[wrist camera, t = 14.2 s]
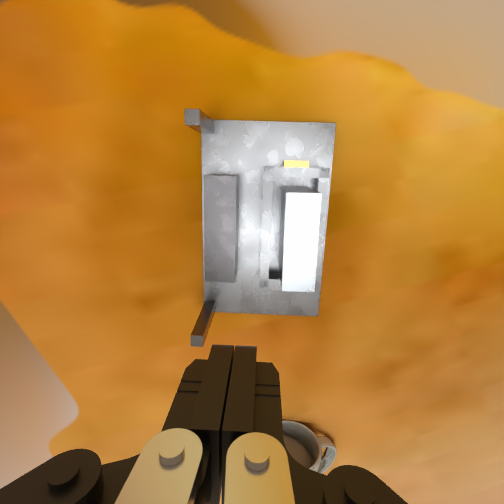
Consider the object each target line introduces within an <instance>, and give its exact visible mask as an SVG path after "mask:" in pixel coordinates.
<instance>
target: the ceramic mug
mask: <svg viewBox="0 0 504 504" xmlns="http://www.w3.org/2000/svg"><path fill="white" fill-rule="evenodd" d="M282 425H283V438H284V443H285V446H286V448H287V450H288V452H289V453H290V455H291V456H292V457H293V458H294V459H295V460H296V461H297V462H298V463H300V464H301V465H303V466H304V467H306V468H308V469H311V470H313V471H316V472H318V473H321V474H322V473H324V472H325V471H326V470H327V469H328V468H329V467H330V466H331V465H332V463H333V462H334V460H335V457H336V454H337V450H336V447H335V446H334V444H333V443H332V441H331V440H330V439H329V438H328V437H325V436H316V435H315V434H314V432H313V431H311V430H310V429H309V428H308V427H306V426H305V425H303V424H301V423H298V422H295V421H289V420H283V421H282ZM322 447H328V448H327V451H326V454H325V456H324V457H323V458H322V460H321V456H322V449H321V448H322Z"/></svg>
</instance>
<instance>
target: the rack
mask: <svg viewBox="0 0 504 504" xmlns="http://www.w3.org/2000/svg"><path fill="white" fill-rule="evenodd" d="M185 125H186V126H188V127H190V128H192V129H194V130H196V131H199V132H201V138H202V209H203V280H204V306H203V308H202V310H201V312H200V315H199V317H198V319H197V322H196V324H195V326H194V329H193V331H192V333H191V346H199V347H203V345H204V342H205V339H206V336H207V333H208V330H209V327H210V325H211V322H212V319H213V316H214V313H215V312H230V313H253V314H276V315H299V316H318V311H319V300H320V289H321V279H322V268H323V257H324V247H325V236H326V225H327V215H328V204H329V193H330V183H331V172H332V161H333V151H334V140H335V129H336V123H317V122H278V121H239V120H212V119H210V118H209V117H208V116H207V115H206V114H205V113H203V112H202V111H201V110H200V109H185ZM281 186H301V187H311V188H313V189H314V190H316V191H318V192H320V193H322V196H321V210H320V224H319V238H318V251H317V265H316V279H315V292H297V291H282V288H281V280H280V273H279V266H278V260H279V234H280V207H281Z"/></svg>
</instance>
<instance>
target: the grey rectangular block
mask: <svg viewBox="0 0 504 504" xmlns="http://www.w3.org/2000/svg"><path fill="white" fill-rule="evenodd" d="M321 196H322V193H320V192H318V191H316V190H314V189H313V188H311V187H301V186H281V207H280V234H279V260H278V266H279V273H280V280H281V288H282V291H297V292H315V279H316V265H317V251H318V238H319V224H320V210H321Z"/></svg>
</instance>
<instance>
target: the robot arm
mask: <svg viewBox="0 0 504 504" xmlns="http://www.w3.org/2000/svg"><path fill="white" fill-rule="evenodd" d="M256 352H257V347H255V346H235V352H234V346H232V345H212V348H211V351H210V355H209V358H208V360H201V359H195V360H194V361H193V362H192V363H191V364H190V365H189V366H188V367H187V368H186V369H185V372H184V374H183V377H182V379H181V383H180V385H179V387H178V390H177V393H176V395H175V398H174V400H173V403H172V405H171V408H170V411H169V413H168V416H167V418H166V421H165V424H164V426H163V429H162V431H161V432H160V433H158V434H157V435H155V436H154V437H152V438H151V439H150V440H149V441H148V442H147V443H146V445H145V446H144V448H143V449H142V451H141V453H140V454H138V455H136V456H134V457H131V458H128V459H125V460H120V461H116V462H112V463H108V464H104V465H101V461H100V458H99V456H98V455H97V454H96V453H95V452H93V451H91V450H87V449H74V450H69V451H66V452H63V453H61V454H58V455H57V456H55V457H53V458H51V459H50V460H48V461H46V462H45V463H43V464H41V465H40V466H38V467H36V468H35V469H33V470H31V471H30V472H28V473H26V474H25V475H23V476H21V477H20V478H18V479H16V480H15V481H13V482H11V483H10V484H8V485H6V486H5V487H3V488H1V489H0V504H219V502H220V495H221V487H222V504H408V503H407V502H405V501H404V500H403V499H402V498H401V497H400V496H399V495H397V494H396V493H395V492H394V491H393V490H392V489H391V488H390V487H388V486H387V485H386V484H385V483H384V482H383V481H382V480H380V479H379V478H378V477H377V476H376V475H374V474H373V473H371V472H370V471H368V470H366V469H363V468H361V467H358V466H352V465H344V466H339V467H337V468H335V469H333V470H332V471H331V472H330V473H329V474H328V475H327V476H326V475H324V474H321V473H318V472H316V471H313V470H311V469H308V468H306V467H304V466H303V465H301V464H300V463H298V462H297V461H296V460H295V459H294V458H293V457H292V456H291V455H290V453H289V452H288V450H287V448H286V446H285V443H284V438H283V425H282V410H281V398H280V381H279V373H278V371H277V370H276V368H275V367H274V365H273V364H272V363H266V362H256Z"/></svg>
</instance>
